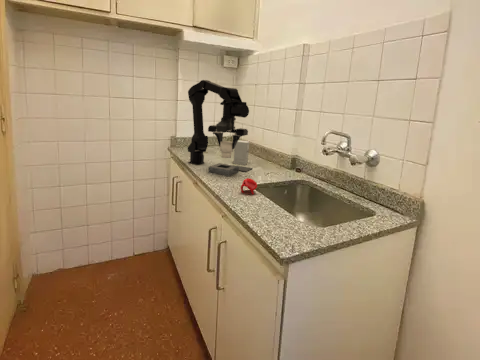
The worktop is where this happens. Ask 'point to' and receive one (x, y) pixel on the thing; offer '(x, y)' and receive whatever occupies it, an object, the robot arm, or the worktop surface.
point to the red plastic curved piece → (249, 185)
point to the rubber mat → (244, 169)
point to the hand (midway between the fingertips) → (226, 148)
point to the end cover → (226, 149)
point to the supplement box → (241, 152)
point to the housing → (223, 169)
